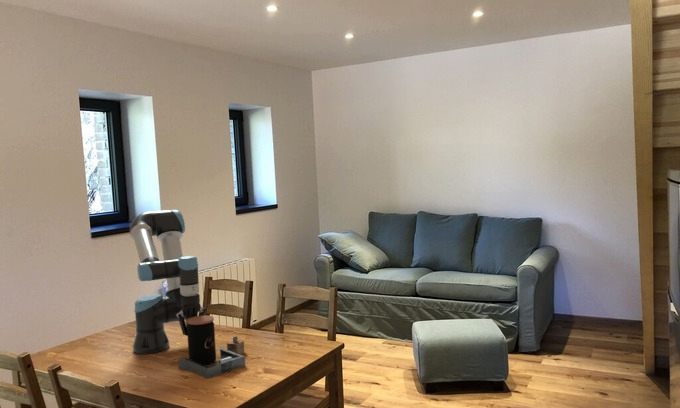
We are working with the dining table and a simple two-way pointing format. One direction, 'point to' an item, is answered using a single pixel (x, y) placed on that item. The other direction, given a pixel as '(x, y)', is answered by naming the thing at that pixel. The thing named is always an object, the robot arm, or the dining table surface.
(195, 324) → the coffee jar
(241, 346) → the grey block
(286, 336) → the dining table surface
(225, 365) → the gray rectangular tray
